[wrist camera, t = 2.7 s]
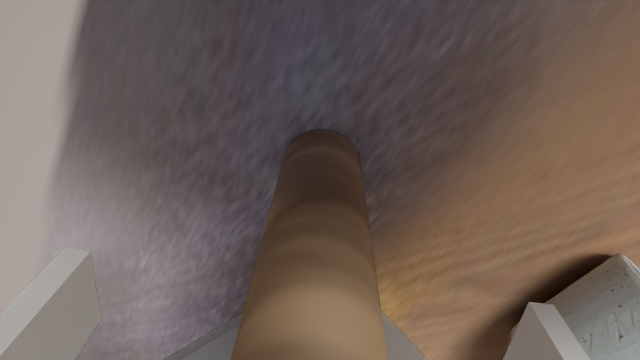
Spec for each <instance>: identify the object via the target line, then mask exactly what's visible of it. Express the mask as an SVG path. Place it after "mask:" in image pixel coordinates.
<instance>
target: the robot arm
mask: <svg viewBox="0 0 640 360" xmlns="http://www.w3.org/2000/svg"><path fill="white" fill-rule="evenodd" d="M99 322H100V314H99V306H98V299H97V292H96V285H95V277H94V270H93V263H92V256H91V251H88V250H80V249H71V248H63V250H62V251H61V252H60V253H59V254H58V255H57V256H56V257H55V258H54V259H53V260H52V261H51V262H50V263H49V264H48V265H47V266H46V267H45V268H44V269H43V270H42V271H41V272H40V273H39V274H38V275H37V276H36V277H35V278H34V279H33V280H32V282H31V283H30V284H29V285H28V286H27V287H26V288H25V289H24V290H23V291H22V292H21V293H20V294H19V295H18V296H17V297H16V298H15V299H14V300H13V301H12V302H11V303H10V304H9V305H8V306H7V307H6V308H5V309H4V311H2V313H1V314H0V360H75V359H76V357H77V356H78V354H79V353H80V351H81V350H82V348H83V347H84V345H85V344H86V342H87V341H88V339H89V338H90V336H91V334H92V333H93V331H94V330H95V328H96V327H97V325H98V324H99ZM503 360H590V358H589V357H588V356H587V354H586V353H585V351H584V350H583V348H582V347H581V345H580V344H579V342H578V341H577V339H576V338H575V336H574V335H573V333H572V332H571V330H570V329H569V327H568V326H567V324H566V323H565V321H564V320H563V318H562V317H561V315H560V314H559V312H558V311H557V309H556V308H555V306H554V305H552V304H543V303H535V302H529V303H528V305H527V307H526V309H525V311H524V314H523V316H522V318H521V320H520V323H519V325H518V327H517V329H516V331H515V334H514V336H513V338H512V340H511V342H510V345H509V347H508V349H507V351H506V353H505V356H504V358H503Z"/></svg>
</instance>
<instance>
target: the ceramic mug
mask: <svg viewBox="0 0 640 360" xmlns="http://www.w3.org/2000/svg"><path fill="white" fill-rule="evenodd" d="M544 304H552V305H554V306H555V308H556V309H557V311H558V312H559V314H560V315H561V317H562V318H563V320H564V321H565V323H566V324H567V326H568V327H569V329H570V330H571V332H572V333H573V335H574V336H575V338H576V339H577V341H578V342H579V344H580V345H581V347H582V348H583V350H584V351H585V353H586V354H587V356H588V357H589V358H590V360H640V269H639V268H638V267H637V266H636V265H635V264H634V263H633V262H631V260H630V259H628V258H627V257H626V256H624V255H622V254H620V253H619V254H616V255H614V256H612V257H611V258H609V259H608V260H606V261H605V262H604V263H602V264H601V265H599V266H598V267H596V268H595V269H593V270H592V271H591V272H589V273H588V274H586V275H585V276H583V277H582V278H580V279H579V280H577V281H576V282H574V283H573V284H571V285H570V286H568V287H567V288H566V289H564V290H563V291H561V292H560V293H559V294H557V295H556V296H554V297H553V298H551V299H550V300H548V301H547V302H545V303H544ZM519 323H520V321H519V322H518V323H517V324H516V325H515V326H514V327H513V329H512V330H511V331H510V333H509V336H508V347H509V345H510V342H511V340H512V338H513V336H514V334H515V331H516V329H517V327H518V325H519Z"/></svg>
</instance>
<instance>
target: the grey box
mask: <svg viewBox="0 0 640 360" xmlns="http://www.w3.org/2000/svg"><path fill="white" fill-rule="evenodd" d="M242 314H243V313H241V314H239V315H238V316H236V317H234V318H233V319H231V320H229V321H228V322H226V323H224V324H223V325H221V326H219V327H218V328H216V329H214V330H213V331H211V332H210V333H208V334H206V335H205V336H203V337H201V338H200V339H198V340H196V341H195V342H193V343H191V344H190V345H188V346H186V347H185V348H183V349H181V350H180V351H178V352H176V353H175V354H173V355H171V356H170V357H168V358H167V359H165V360H231V356H232V352H233V349H234V345H235V341H236V337H237V333H238V329H239V326H240V322H241V318H242ZM381 314H382V321H383V328H384V335H385V343H386V350H387V357H388V360H427V359H426V358H425V357H424V356H423V355H422V353H421V352H420V351H419V350H418V349H417V348H416V347H415V346H414V345H413V344H412V343H411V342H410V340H409V339H408V338H407V337H406V336H405V335H404V334H403V333H402V332H401V331H400V330H399V329H398V327H397V326H396V325H395V324H394V323H393V322H392V321H391V320H390V319H389V318H388V317H387V316H386V314H385V313H384V312H383V311H382V310H381Z"/></svg>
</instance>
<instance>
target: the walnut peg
mask: <svg viewBox="0 0 640 360" xmlns="http://www.w3.org/2000/svg"><path fill="white" fill-rule="evenodd" d="M231 360H388V357H387V350H386V343H385V335H384V328H383V321H382V314H381V307H380V300H379V293H378V285H377V278H376V271H375V264H374V257H373V250H372V243H371V235H370V228H369V221H368V214H367V207H366V200H365V193H364V185H363V178H362V171H361V164H360V158H359V155H358V152H357V150H356V148H355V147H354V145H353V144H352V143H351V142H350V141H349V140H348V139H347V138H346V137H344V136H343V135H341V134H339V133H337V132H334V131H330V130H313V131H309V132H306V133H304V134H301V135H300V136H298V137H297V138H296V139H294V140H293V141H292V142H291V144H290V145H289V146H288V148H287V150H286V152H285V154H284V158H283V162H282V165H281V169H280V173H279V177H278V181H277V184H276V188H275V192H274V196H273V200H272V204H271V207H270V211H269V215H268V219H267V223H266V226H265V230H264V234H263V238H262V242H261V246H260V249H259V253H258V257H257V261H256V265H255V268H254V272H253V276H252V280H251V284H250V287H249V291H248V295H247V299H246V303H245V307H244V310H243V314H242V318H241V322H240V326H239V329H238V333H237V337H236V341H235V345H234V349H233V352H232V356H231Z"/></svg>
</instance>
